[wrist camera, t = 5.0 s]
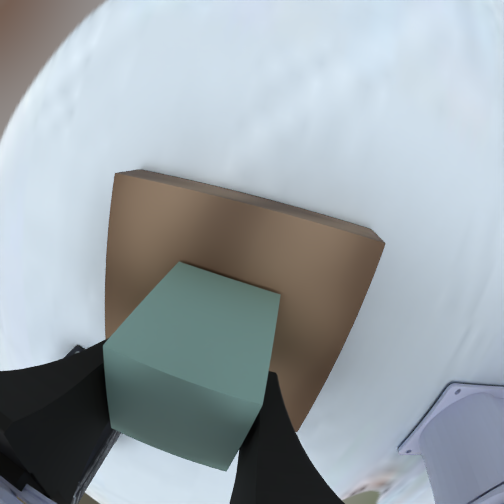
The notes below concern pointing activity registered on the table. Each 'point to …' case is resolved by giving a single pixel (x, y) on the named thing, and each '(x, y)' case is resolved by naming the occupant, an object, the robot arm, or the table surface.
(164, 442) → the teal block
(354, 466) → the table surface
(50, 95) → the table surface
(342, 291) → the walnut slab
